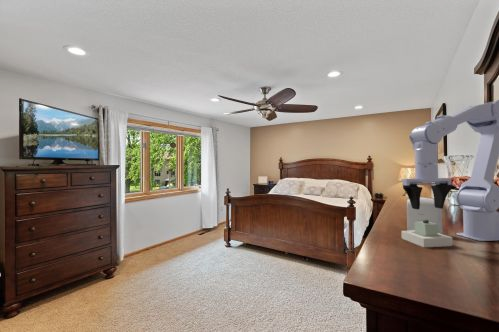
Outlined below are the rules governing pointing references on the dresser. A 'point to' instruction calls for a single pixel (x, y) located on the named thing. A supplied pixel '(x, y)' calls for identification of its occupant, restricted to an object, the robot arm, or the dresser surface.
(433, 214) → the photo printer
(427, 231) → the pale green block
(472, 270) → the dresser surface
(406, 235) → the white square frame
